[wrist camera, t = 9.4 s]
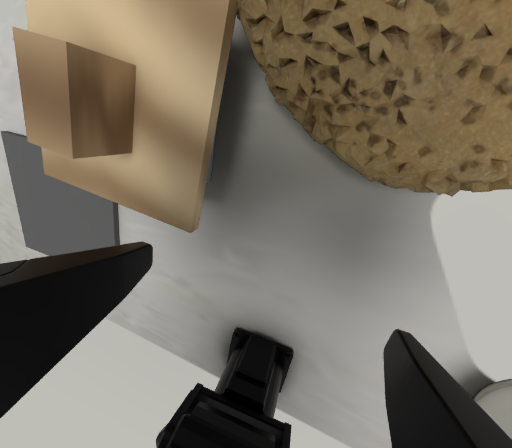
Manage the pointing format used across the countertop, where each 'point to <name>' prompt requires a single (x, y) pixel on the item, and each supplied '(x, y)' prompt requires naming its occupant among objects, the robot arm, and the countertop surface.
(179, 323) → the countertop surface
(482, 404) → the lidded bowl
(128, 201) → the oak lid
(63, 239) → the rubber mat
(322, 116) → the sponge
